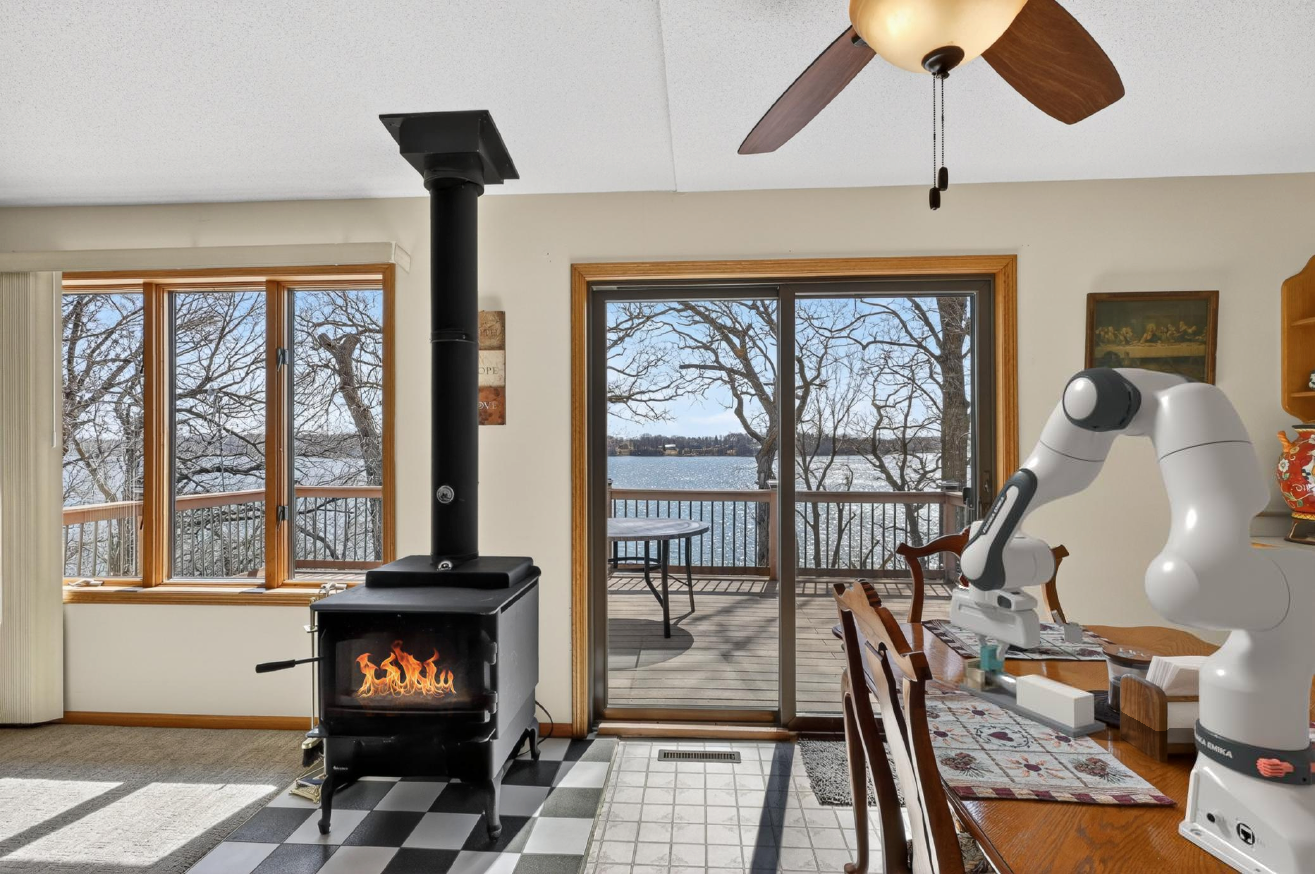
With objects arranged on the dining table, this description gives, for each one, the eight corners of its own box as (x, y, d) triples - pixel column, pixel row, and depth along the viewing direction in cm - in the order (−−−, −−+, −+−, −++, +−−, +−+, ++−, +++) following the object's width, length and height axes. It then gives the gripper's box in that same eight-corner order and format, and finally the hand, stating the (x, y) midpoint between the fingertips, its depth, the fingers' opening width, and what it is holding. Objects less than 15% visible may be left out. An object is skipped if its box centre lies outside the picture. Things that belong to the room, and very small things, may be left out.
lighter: (1081, 641, 177) (1081, 612, 177) (1082, 643, 176) (1082, 613, 176) (1051, 638, 181) (1050, 609, 181) (1051, 640, 179) (1051, 610, 179)
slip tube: (1054, 703, 130) (1054, 663, 130) (1038, 707, 128) (1038, 666, 128) (990, 678, 144) (989, 642, 144) (975, 681, 142) (974, 644, 142)
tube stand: (1106, 729, 123) (1105, 694, 123) (1072, 737, 119) (1072, 701, 119) (988, 682, 147) (988, 654, 147) (958, 688, 143) (957, 659, 143)
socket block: (1004, 686, 142) (1004, 662, 142) (980, 691, 139) (980, 666, 139) (987, 679, 146) (986, 656, 146) (963, 684, 143) (963, 660, 143)
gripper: (942, 584, 149) (942, 645, 149) (1022, 604, 130) (1023, 674, 130) (963, 582, 152) (963, 642, 151) (1045, 601, 133) (1045, 670, 133)
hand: (992, 657), depth 141 cm, fingers closed on slip tube, 2 cm apart
